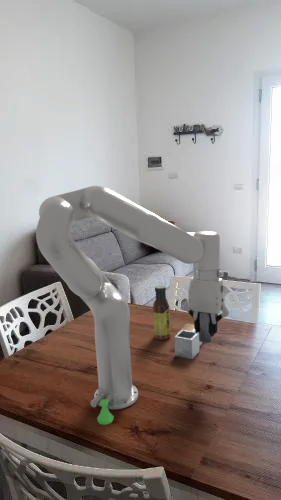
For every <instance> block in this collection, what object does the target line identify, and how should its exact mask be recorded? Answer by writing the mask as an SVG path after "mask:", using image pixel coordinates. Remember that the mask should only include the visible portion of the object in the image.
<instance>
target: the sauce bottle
mask: <svg viewBox="0 0 281 500" xmlns="http://www.w3.org/2000/svg"><path fill="white" fill-rule="evenodd" d="M166 291H167V288H166V286H165V285H156V286H155V287H154V292H155V300H154V301H153V304H152V308H153V313H152V314H153V329H154V330H153V331H154V332H153V333H154V338H156V339H157V340H168V339H169V338H170V337H171V310H170V309H171V308H170V305H169V302H168V299H167V296H166V295H167V293H166Z"/></svg>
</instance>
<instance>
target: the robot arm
mask: <svg viewBox="0 0 281 500" xmlns="http://www.w3.org/2000/svg"><path fill="white" fill-rule="evenodd" d="M38 215H39V216H38V217H39V219H38V222H37V225H36V231H35V233H36V235H35V237H36V243H37V247H38V249H39V252H41V255H42V256H43V257H44V258H45V260H46V261H47V262H48V263H49V265H50V266H51V267H52V268H53V270H54V271H55V272H56V273H57V274H58V276H59V277H60V278H61V279H62V280H63V282H65V283H66V285H67V286H68V288H69V290H71V292H73V294H75V295H76V296H79V298H80V299H82V301H83V302H84V303H85V304H86V305H87V307H88V308H89V309H90V311H91V314H92V315H93V322H94V343H95V344H94V345H95V355H96V356H95V357H96V367H97V368H96V369H97V379H98V380H97V382H98V388H97V389H96V391H95V392H94V393H93V394H94V395H93V399H92V400H91V401H90V406H91V407H92V408H96V407H97V406H99V407H100V408H102V406H100V401H101V400H103V399H106V400H108V406H107V408H108V410H121V409H125V408H127V407H128V408H129V406H132V405H133V404H135V403H136V402H137V400H138V398H139V391H138V388H137V387H136V386H135V385H133V376H132V375H133V373H132V361H131V360H132V359H131V345H130V321H131V320H130V319H131V315H130V314H131V312H130V311H131V310H130V306H129V303H128V302H127V300H126V298H125V297H124V296H123V294H122V293H121V292H120V291H119V289H117V288H116V286H115V285H114V284H112V282H111V280H109V279H108V277H107V276H106V275H105V274H104V272H103V271H102V270H101V269H100V267H98V265H97V264H96V263H95V261H93V260H92V259H91V258H90V257H88V256H87V254H85V253H84V251H83V250H82V249H81V248H80V246H79V245H78V244H77V242H76V241H75V240H74V238H73V236H72V227H73V225H74V224H75V223H78V222H81V221H85V220H87V219H88V220H89V219H90V218H93V219H94V220H96V221H99V222H101V223H103V224H104V225H107V227H108V226H109V227H111V228H113V229H114V230H116V231H118V232H120V233H122V234H124V235H126V236H128V237H129V238H132V239H134V240H136V241H138V242H140V243H143V244H145V245H148V246H150V247H153V248H154V249H156V250H158V251H161V252H162V253H165V254H166V255H168V256H171V257H172V258H174V259H176V260H178V261H179V262H181V263H183V264H187V265H192V276H191V278H190V282H189V288H188V297H187V301H186V303H185V304H184V306H183V310H184V311H186V312H187V313H188V314H189V315H190V316H191V317H192V320H193V321H194V322H193V324H194V329H195V333H197V334H198V333H199V312H206V313H211V319H212V323H211V324H210V336H212V338H213V337H214V336H215V335H216V334H217V333H218V322H219V321H221V320H222V319H224V318H226V317H228V316H229V315H230V312H229V310H228V308H227V307H226V301H225V289H224V282H223V277H224V275H225V272H224V271H221V268H220V253H221V252H220V251H221V250H220V248H221V247H220V246H221V245H220V244H221V242H220V241H221V236H220V235H219V233H218V232H217V231H213V230H212V231H211V230H201V231H197V232H192V231H191V232H188V231H186V230H183V228H180V227H178V226H176V225H175V224H173V223H171V222H169V221H167V220H165V219H163V218H161V216H159V215H157V214H155V213H154V212H152V211H150V210H148V209H146V208H144V207H143V206H141V205H139V204H137V203H135V202H133V201H132V200H130V199H128V198H126V197H124V196H123V195H121V194H119V193H117V192H115V191H114V190H111V189H110V188H108V187H104V186H101V185H92V186H88V187H84V188H80V189H77V190H76V189H75V190H74V191H69V192H65V193H61V194H57V195H53V196H50V197H48V198H46V199H44V201H42V202H41V204H40V206H39V210H38Z"/></svg>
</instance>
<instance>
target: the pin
mask: <svg viewBox="0 0 281 500" xmlns="http://www.w3.org/2000/svg"><path fill="white" fill-rule="evenodd" d="M211 323H212V319H211V313H206V312H199V341H200V342H203V343H202V344H210V343H211V342H213V337H212V336H210V324H211Z"/></svg>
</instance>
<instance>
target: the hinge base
mask: <svg viewBox="0 0 281 500" xmlns="http://www.w3.org/2000/svg"><path fill="white" fill-rule="evenodd" d="M198 353H200V347H199V333H198V334H197V333H195V329H194V323H186V324H185V325H184V326H183V327H182V328H181V329H179V330H178V332H176V334H175V336H174V356H175V357H180V358H184V359H189V360H193V359H194V358H196V356H197V355H198Z"/></svg>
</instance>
